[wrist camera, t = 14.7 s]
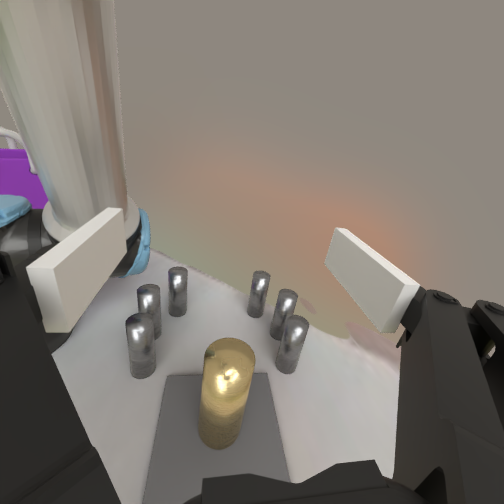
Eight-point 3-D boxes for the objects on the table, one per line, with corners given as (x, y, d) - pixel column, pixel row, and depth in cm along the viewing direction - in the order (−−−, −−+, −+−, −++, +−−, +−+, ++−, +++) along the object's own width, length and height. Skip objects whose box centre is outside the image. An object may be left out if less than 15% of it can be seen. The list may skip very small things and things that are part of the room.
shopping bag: (58, 221, 84) (37, 124, 71) (99, 239, 76) (84, 134, 63) (-67, 246, 60) (-134, 109, 47) (-27, 277, 52) (-93, 122, 39)
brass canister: (188, 429, 31) (193, 360, 25) (217, 396, 36) (225, 330, 30) (222, 460, 29) (235, 391, 23) (248, 420, 33) (264, 354, 27)
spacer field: (124, 379, 37) (117, 330, 32) (151, 305, 52) (149, 265, 48) (300, 373, 42) (315, 330, 38) (277, 307, 58) (285, 272, 53)
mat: (138, 529, 24) (138, 525, 23) (167, 379, 38) (167, 375, 37) (293, 507, 27) (295, 504, 26) (266, 376, 41) (266, 372, 40)
